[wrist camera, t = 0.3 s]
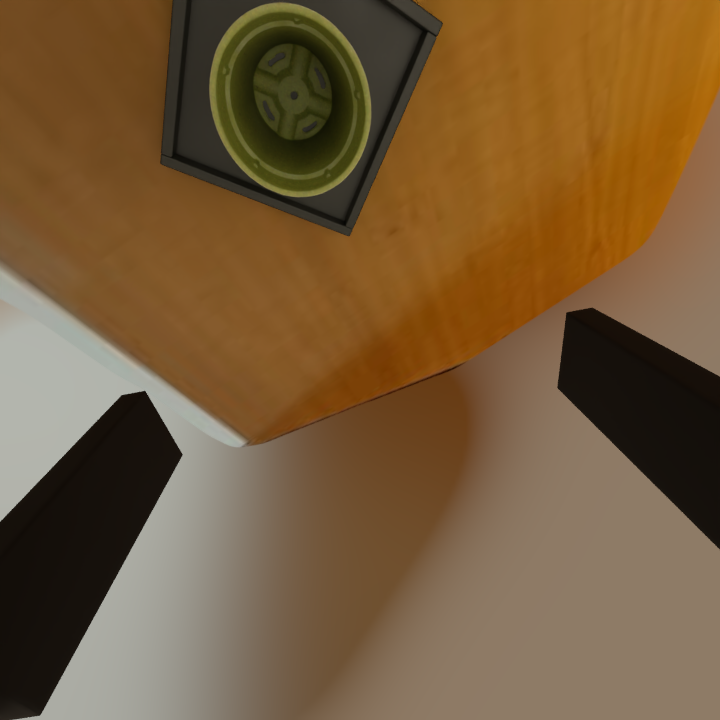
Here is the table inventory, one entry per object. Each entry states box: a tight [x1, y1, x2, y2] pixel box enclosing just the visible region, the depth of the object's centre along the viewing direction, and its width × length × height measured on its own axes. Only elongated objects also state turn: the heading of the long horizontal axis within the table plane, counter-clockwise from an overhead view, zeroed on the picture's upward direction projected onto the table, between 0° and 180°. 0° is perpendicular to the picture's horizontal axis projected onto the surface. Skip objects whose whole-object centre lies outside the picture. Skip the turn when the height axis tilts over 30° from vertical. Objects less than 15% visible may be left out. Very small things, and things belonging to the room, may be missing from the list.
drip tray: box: [160, 0, 443, 236], centre depth 26 cm, size 17×17×2 cm
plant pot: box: [209, 2, 371, 197], centre depth 24 cm, size 9×9×9 cm
